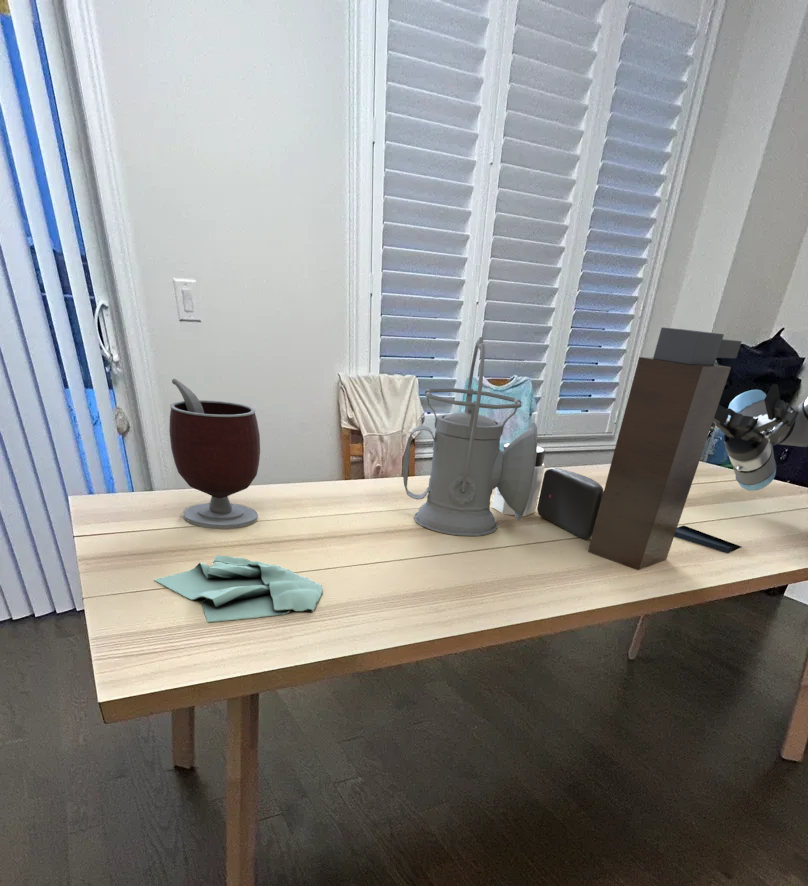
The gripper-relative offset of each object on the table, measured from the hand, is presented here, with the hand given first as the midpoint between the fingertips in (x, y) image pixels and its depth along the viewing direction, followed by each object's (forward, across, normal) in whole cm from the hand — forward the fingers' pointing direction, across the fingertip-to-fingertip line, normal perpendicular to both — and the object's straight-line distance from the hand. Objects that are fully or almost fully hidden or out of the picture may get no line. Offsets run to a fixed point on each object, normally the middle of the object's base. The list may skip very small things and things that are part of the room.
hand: (730, 385), depth 109 cm
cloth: (+60, +22, -65) cm, 91 cm away
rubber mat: (-20, -4, -19) cm, 28 cm away
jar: (+2, +28, -32) cm, 42 cm away
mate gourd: (+48, +51, -59) cm, 91 cm away
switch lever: (+14, 0, -4) cm, 15 cm away
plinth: (+4, 0, -33) cm, 33 cm away
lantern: (+16, +28, -40) cm, 52 cm away
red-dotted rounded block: (+2, +16, -32) cm, 36 cm away
